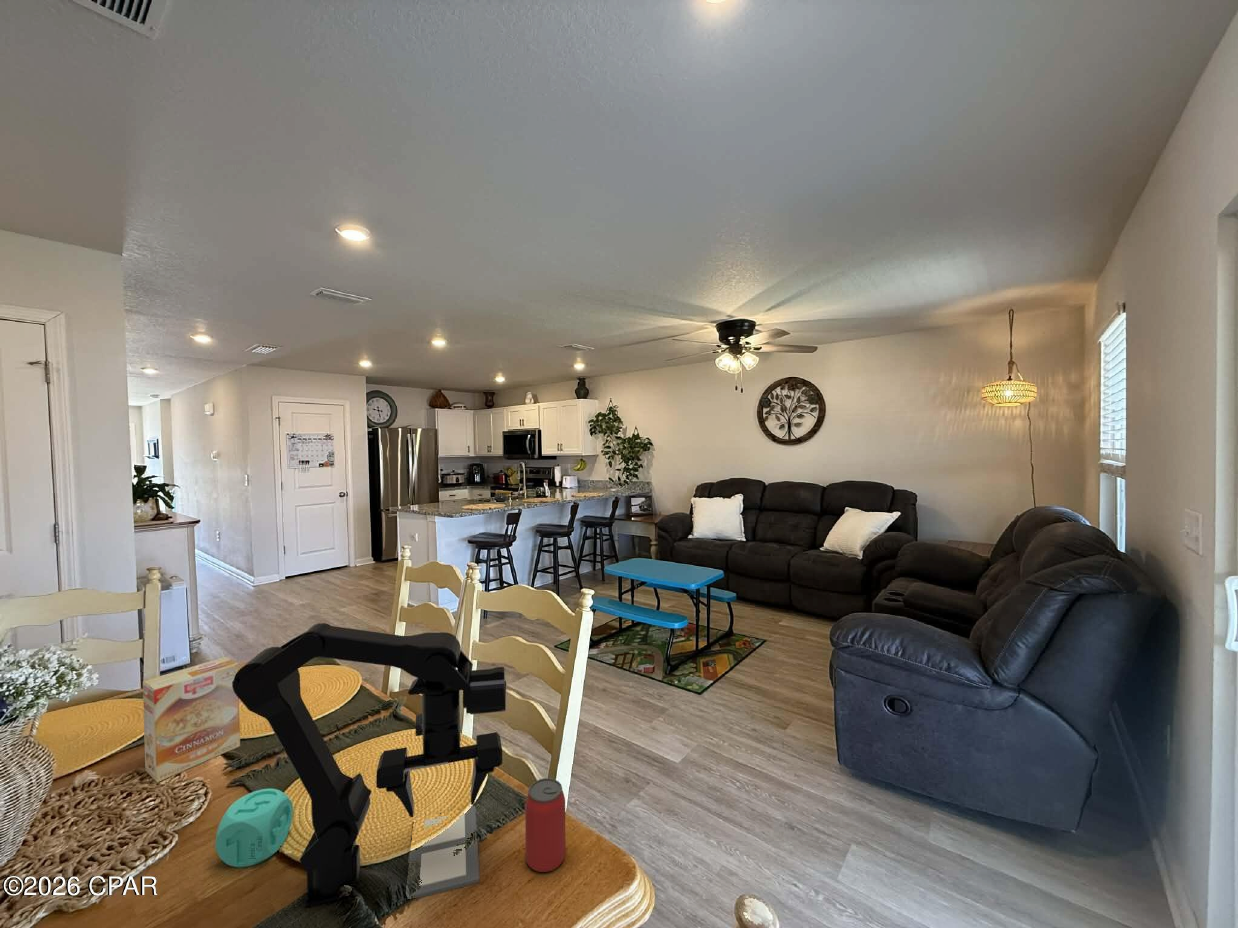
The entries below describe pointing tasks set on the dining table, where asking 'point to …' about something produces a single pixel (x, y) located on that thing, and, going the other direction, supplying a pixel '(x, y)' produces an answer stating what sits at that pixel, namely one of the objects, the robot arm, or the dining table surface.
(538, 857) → the beer can
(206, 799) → the dining table surface
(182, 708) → the coffeecake box
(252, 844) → the decorative dice
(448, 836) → the label board
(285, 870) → the dining table surface
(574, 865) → the dining table surface
